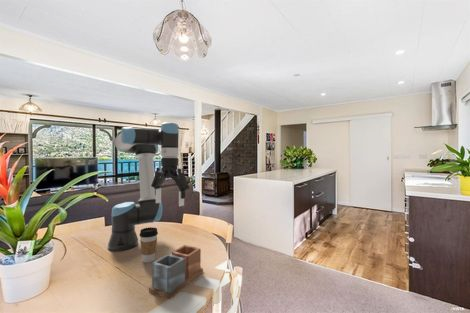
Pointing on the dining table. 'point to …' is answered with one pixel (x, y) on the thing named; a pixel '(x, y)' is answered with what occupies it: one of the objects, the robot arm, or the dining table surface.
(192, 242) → the dining table surface
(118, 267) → the dining table surface
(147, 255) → the coffee cup
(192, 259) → the desk organizer
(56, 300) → the dining table surface
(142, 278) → the dining table surface
